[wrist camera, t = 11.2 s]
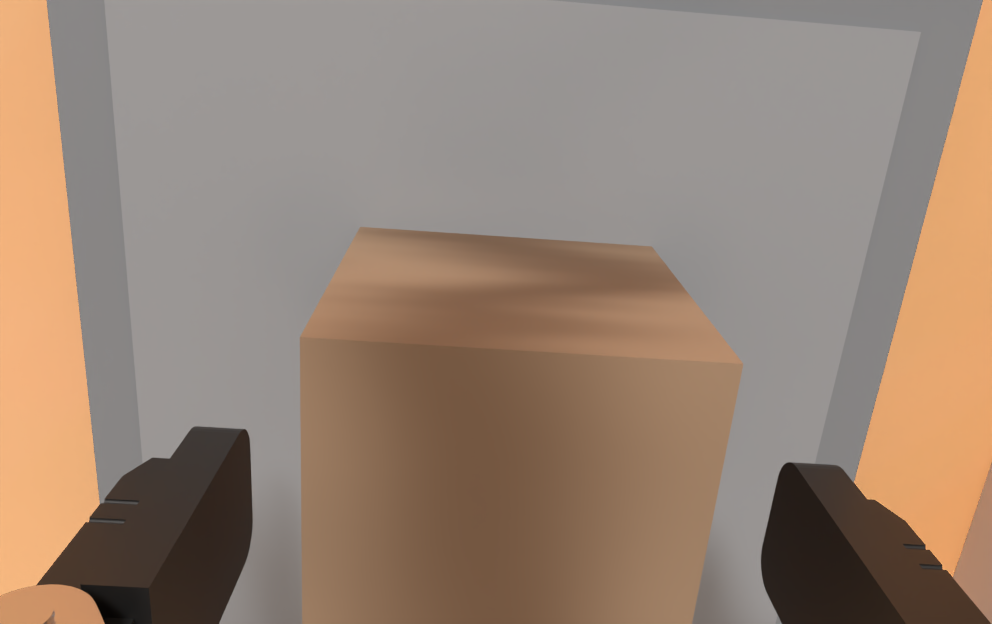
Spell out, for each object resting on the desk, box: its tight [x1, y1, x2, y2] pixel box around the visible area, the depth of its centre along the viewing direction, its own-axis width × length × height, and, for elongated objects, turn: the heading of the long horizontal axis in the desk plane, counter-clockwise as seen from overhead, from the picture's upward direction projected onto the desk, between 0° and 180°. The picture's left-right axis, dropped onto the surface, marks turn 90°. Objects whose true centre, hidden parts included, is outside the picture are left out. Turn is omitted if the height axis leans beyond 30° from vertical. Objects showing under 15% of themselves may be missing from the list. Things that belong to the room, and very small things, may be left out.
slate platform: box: [47, 0, 983, 624], centre depth 17 cm, size 16×16×2 cm
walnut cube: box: [300, 227, 743, 624], centre depth 13 cm, size 6×6×6 cm
